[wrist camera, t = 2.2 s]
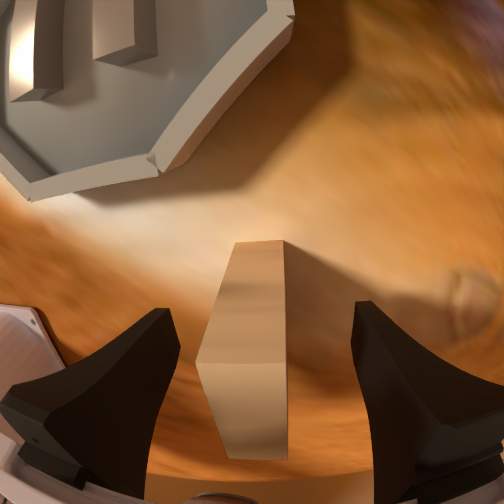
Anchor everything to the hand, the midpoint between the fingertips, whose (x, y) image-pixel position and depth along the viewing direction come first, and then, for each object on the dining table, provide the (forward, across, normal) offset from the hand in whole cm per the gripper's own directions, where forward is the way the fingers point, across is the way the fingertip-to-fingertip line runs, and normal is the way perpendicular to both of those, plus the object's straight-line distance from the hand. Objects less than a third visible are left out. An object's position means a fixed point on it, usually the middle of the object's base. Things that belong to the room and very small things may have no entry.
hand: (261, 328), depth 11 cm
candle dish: (+3, +6, -14) cm, 15 cm away
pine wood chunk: (+3, 0, 0) cm, 3 cm away
